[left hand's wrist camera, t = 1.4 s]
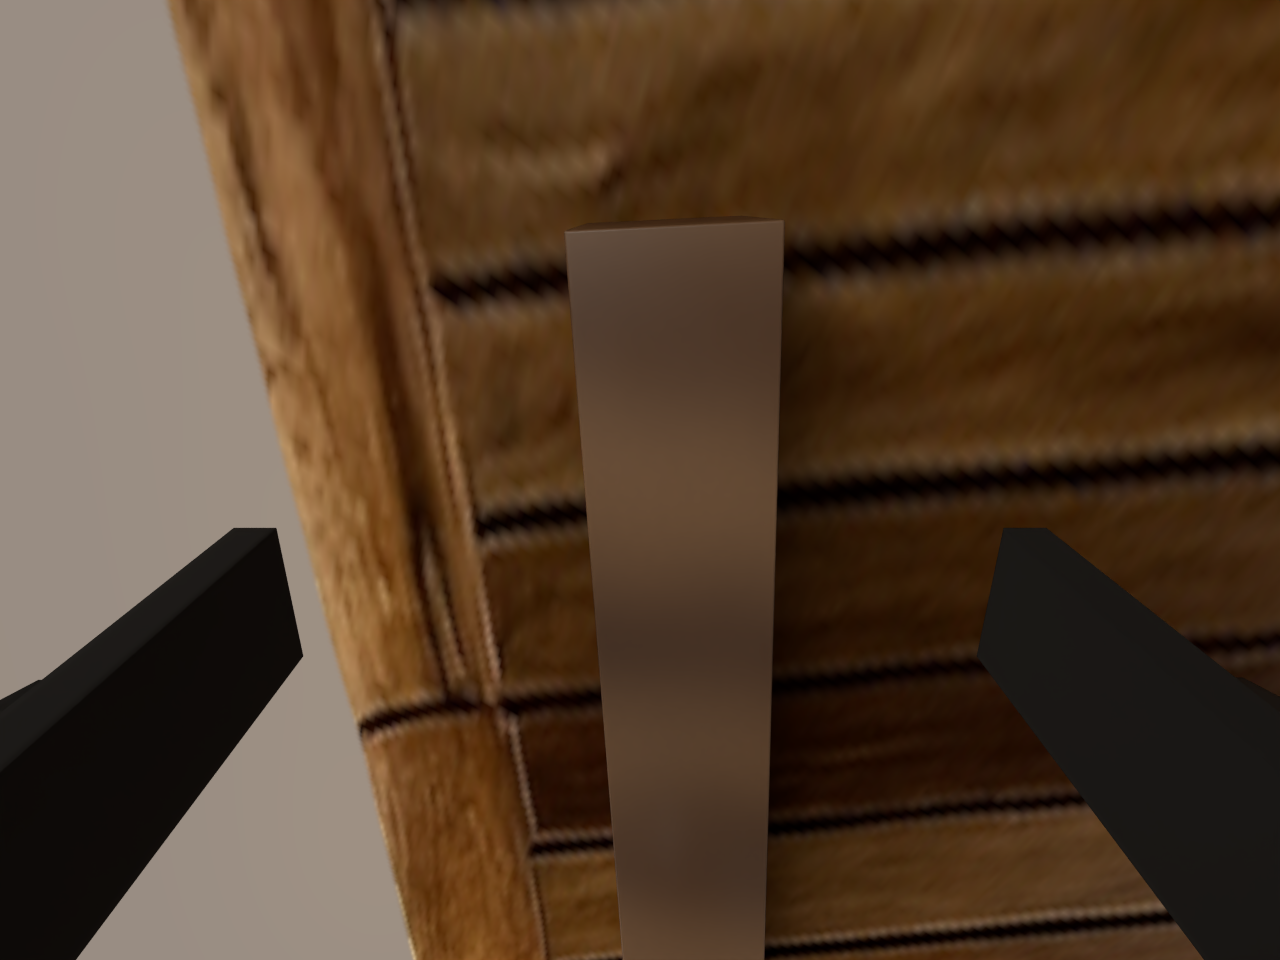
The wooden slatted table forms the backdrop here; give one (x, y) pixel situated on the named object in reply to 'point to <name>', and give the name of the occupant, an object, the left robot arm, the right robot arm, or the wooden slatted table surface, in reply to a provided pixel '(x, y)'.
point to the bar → (683, 562)
